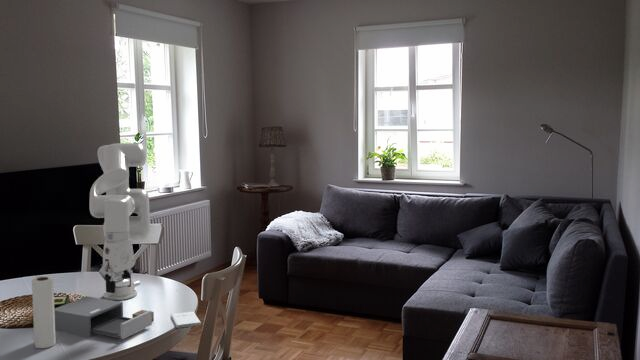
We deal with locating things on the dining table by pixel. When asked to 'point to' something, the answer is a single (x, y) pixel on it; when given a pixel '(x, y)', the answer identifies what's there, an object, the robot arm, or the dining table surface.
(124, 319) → the tray
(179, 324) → the external hard drive
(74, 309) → the grey drawer box
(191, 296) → the dining table surface
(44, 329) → the paper towel roll
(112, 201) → the robot arm
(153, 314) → the pedestal
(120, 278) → the disc
